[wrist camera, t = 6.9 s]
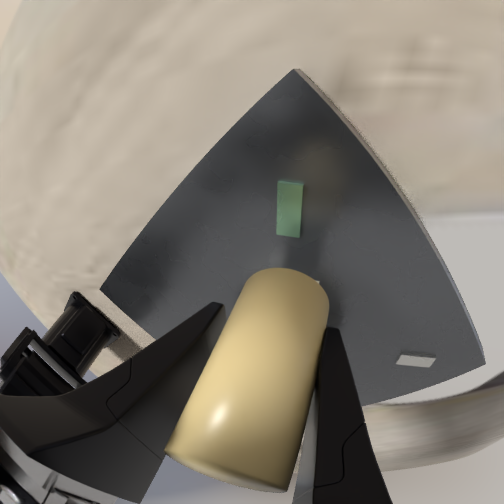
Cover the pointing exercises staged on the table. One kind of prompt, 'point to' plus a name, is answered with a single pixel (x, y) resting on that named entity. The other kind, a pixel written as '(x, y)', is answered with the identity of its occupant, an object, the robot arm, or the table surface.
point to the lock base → (305, 244)
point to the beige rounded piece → (256, 385)
